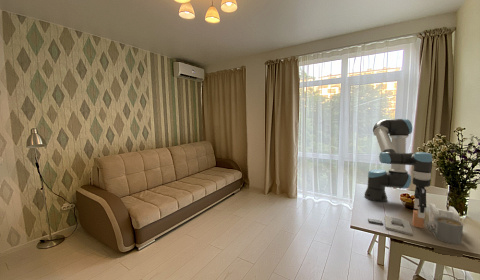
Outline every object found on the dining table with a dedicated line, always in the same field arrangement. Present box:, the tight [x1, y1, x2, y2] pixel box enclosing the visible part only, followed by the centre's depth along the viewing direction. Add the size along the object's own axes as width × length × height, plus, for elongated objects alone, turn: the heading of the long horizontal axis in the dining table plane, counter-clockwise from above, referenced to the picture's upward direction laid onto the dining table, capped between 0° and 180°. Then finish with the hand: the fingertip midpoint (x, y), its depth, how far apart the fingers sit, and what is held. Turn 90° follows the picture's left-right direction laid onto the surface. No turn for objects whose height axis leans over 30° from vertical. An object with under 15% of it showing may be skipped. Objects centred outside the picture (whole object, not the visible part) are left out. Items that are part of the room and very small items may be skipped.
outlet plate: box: [384, 215, 414, 236], centre depth 115 cm, size 16×12×1 cm
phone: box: [367, 218, 384, 226], centre depth 119 cm, size 4×7×1 cm, turn 64°
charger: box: [411, 209, 425, 229], centre depth 115 cm, size 4×4×9 cm
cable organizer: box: [428, 202, 461, 229], centre depth 113 cm, size 15×11×12 cm
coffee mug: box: [426, 216, 464, 245], centre depth 103 cm, size 13×10×10 cm
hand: (418, 213), depth 114 cm, fingers open, 13 cm apart
